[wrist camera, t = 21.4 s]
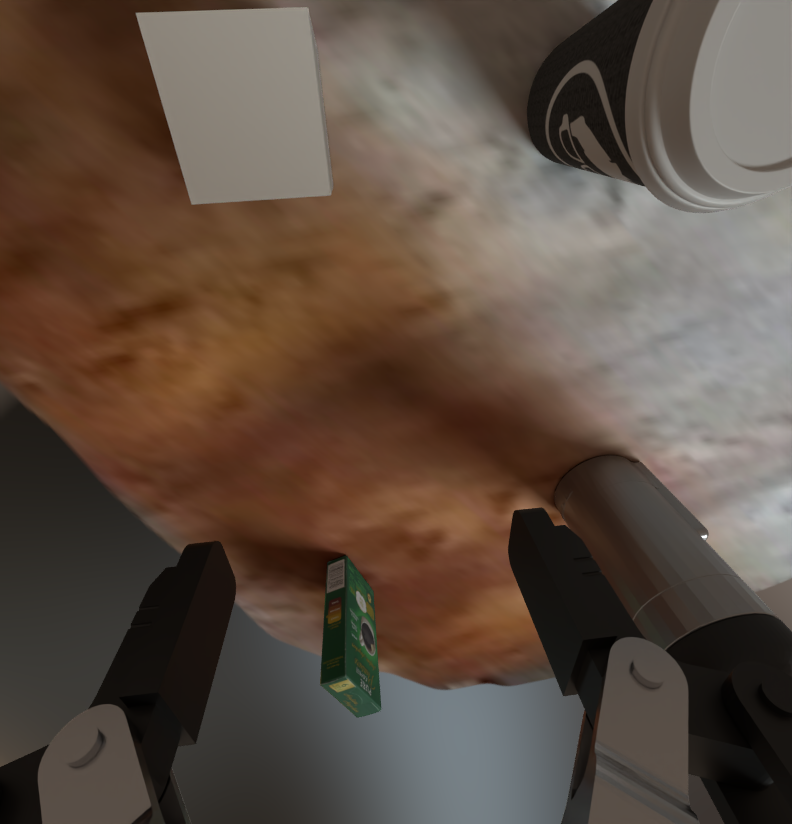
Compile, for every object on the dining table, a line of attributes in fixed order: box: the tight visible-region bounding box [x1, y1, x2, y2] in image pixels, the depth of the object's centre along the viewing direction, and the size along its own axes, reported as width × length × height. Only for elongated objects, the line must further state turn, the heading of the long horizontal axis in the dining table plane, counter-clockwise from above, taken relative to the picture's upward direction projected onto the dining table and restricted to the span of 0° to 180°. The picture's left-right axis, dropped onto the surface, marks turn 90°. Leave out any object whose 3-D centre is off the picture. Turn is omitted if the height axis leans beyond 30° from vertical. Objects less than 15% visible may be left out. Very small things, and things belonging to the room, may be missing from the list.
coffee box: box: [320, 555, 381, 717], centre depth 42 cm, size 8×3×13 cm, turn 21°
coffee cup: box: [527, 0, 792, 213], centre depth 19 cm, size 10×10×15 cm
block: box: [136, 7, 333, 205], centre depth 21 cm, size 7×7×8 cm
